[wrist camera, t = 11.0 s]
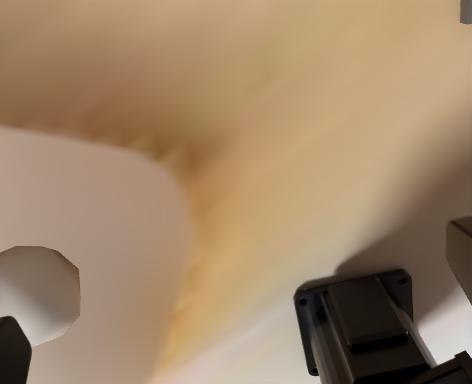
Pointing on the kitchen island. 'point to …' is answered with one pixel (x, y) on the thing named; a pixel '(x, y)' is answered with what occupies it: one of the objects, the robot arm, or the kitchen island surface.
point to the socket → (466, 12)
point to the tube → (39, 291)
